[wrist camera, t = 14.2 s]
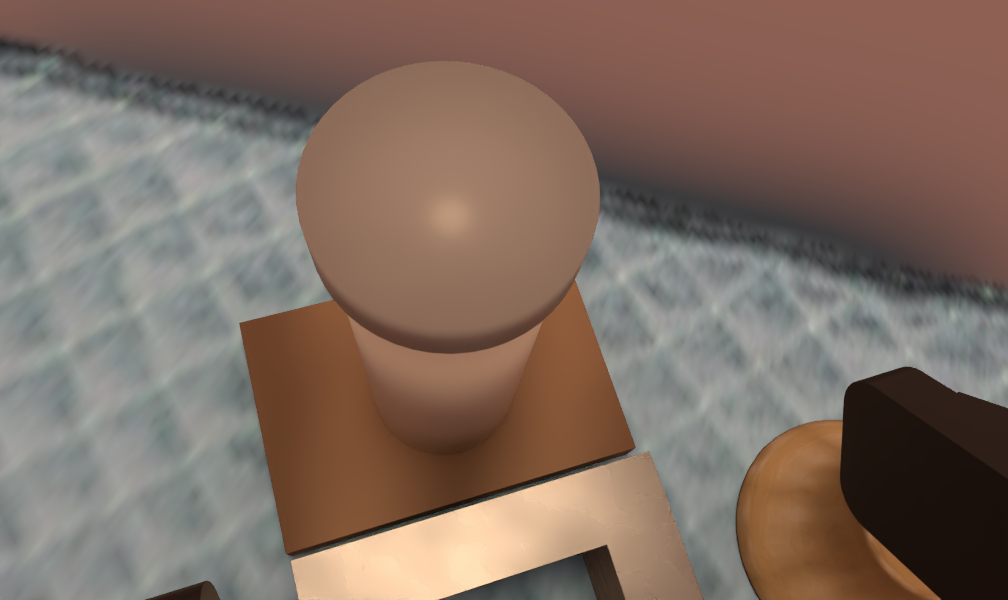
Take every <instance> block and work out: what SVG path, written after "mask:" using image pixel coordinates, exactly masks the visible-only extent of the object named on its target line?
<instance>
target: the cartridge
mask: <svg viewBox="0 0 1008 600" xmlns="http://www.w3.org/2000/svg"><path fill="white" fill-rule="evenodd" d="M296 205H297V211H298V217H299V222H300V225H301V228H302V231H303V234H304V237H305V240H306V243H307V245H308V248H309V251H310V254H311V256H312V259H313V262H314V265H315V267H316V270H317V272H318V274H319V276H320V278H321V280H322V282H323V284H324V286H325V288H326V289H327V291H328V292H329V294H330V295H331V296H332V298H333V299H334V301H335V302H336V303H337V304H338V305H339V306H340V307H341V308H342V309H343V311H344V312H345V313H346V314H347V315H348V318H349V321H350V324H351V327H352V331H353V334H354V337H355V340H356V343H357V346H358V349H359V353H360V356H361V359H362V362H363V365H364V368H365V372H366V375H367V378H368V381H369V384H370V387H371V391H372V394H373V397H374V400H375V403H376V406H377V409H378V412H379V414H380V416H381V418H382V420H383V422H384V423H385V425H386V426H387V428H388V429H389V430H390V431H391V432H392V434H393V435H394V436H396V437H397V438H398V439H399V440H400V441H402V442H403V443H405V444H406V445H408V446H410V447H412V448H414V449H416V450H419V451H422V452H425V453H431V454H441V455H446V454H455V453H460V452H464V451H466V450H469V449H472V448H474V447H476V446H477V445H479V444H481V443H482V442H484V441H485V440H487V439H488V438H489V437H490V436H491V435H492V434H493V433H494V432H495V431H496V430H497V429H498V427H499V426H500V425H501V423H502V422H503V420H504V418H505V416H506V414H507V412H508V410H509V407H510V405H511V402H512V399H513V397H514V394H515V392H516V389H517V386H518V384H519V381H520V379H521V376H522V373H523V371H524V368H525V366H526V363H527V361H528V358H529V355H530V353H531V350H532V348H533V345H534V342H535V340H536V337H537V335H538V332H539V329H540V327H541V324H542V322H543V320H544V319H545V318H546V317H547V316H549V315H550V314H551V313H552V312H553V311H554V310H555V308H556V307H557V306H558V305H559V304H560V302H561V301H562V300H563V299H564V297H565V296H566V294H567V293H568V291H569V289H570V288H571V286H572V285H573V282H574V280H575V278H576V276H577V273H578V271H579V269H580V267H581V264H582V262H583V260H584V258H585V255H586V253H587V251H588V248H589V246H590V244H591V242H592V239H593V236H594V233H595V229H596V226H597V222H598V215H599V207H600V186H599V180H598V175H597V169H596V166H595V163H594V160H593V156H592V154H591V151H590V149H589V147H588V145H587V143H586V141H585V139H584V137H583V135H582V134H581V132H580V131H579V129H578V128H577V126H576V125H575V123H574V122H573V121H572V119H571V118H570V117H569V116H568V115H567V114H566V112H565V111H564V110H563V109H562V108H561V107H560V106H559V105H558V104H557V103H555V102H554V101H553V100H552V99H551V98H550V97H549V96H547V95H546V94H545V93H543V92H542V91H540V90H539V89H538V88H536V87H535V86H533V85H531V84H529V83H528V82H526V81H524V80H522V79H520V78H518V77H516V76H514V75H511V74H509V73H507V72H504V71H501V70H498V69H494V68H491V67H488V66H484V65H479V64H473V63H468V62H456V61H435V62H434V61H432V62H423V63H417V64H411V65H406V66H403V67H399V68H395V69H392V70H389V71H387V72H384V73H382V74H379V75H377V76H374V77H372V78H371V79H369V80H367V81H365V82H363V83H361V84H359V85H358V86H357V87H355V88H354V89H352V90H351V91H349V92H348V93H347V94H345V95H344V96H343V97H342V98H341V99H340V100H338V101H337V102H336V103H335V104H334V105H333V106H332V107H331V108H330V109H329V110H328V111H327V113H326V114H325V115H324V116H323V117H322V118H321V120H320V121H319V123H318V124H317V126H316V127H315V129H314V130H313V132H312V134H311V135H310V137H309V140H308V142H307V144H306V146H305V148H304V150H303V154H302V157H301V161H300V164H299V167H298V174H297V182H296Z"/></svg>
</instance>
